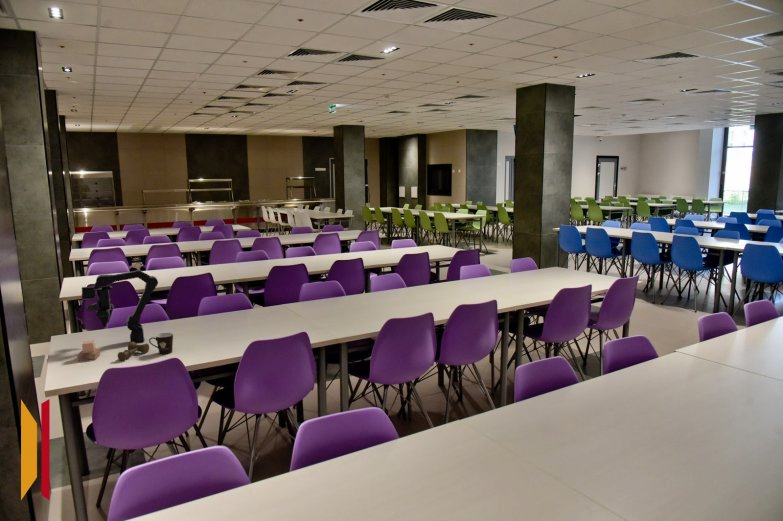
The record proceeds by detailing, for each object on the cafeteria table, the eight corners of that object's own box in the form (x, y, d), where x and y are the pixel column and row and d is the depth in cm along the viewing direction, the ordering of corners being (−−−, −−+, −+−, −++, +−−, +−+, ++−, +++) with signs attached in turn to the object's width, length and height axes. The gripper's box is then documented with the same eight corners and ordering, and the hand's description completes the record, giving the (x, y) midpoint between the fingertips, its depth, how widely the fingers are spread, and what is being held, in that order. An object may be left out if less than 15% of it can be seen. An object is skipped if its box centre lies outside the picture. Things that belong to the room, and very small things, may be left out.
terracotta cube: (95, 349, 278) (94, 340, 277) (93, 352, 273) (93, 343, 272) (84, 350, 276) (83, 341, 275) (82, 353, 271) (82, 344, 271)
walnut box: (100, 355, 280) (99, 348, 279) (95, 360, 272) (94, 353, 271) (83, 357, 278) (82, 349, 277) (78, 362, 270) (77, 354, 270)
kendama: (113, 361, 271) (139, 348, 291) (129, 363, 270) (154, 349, 289) (112, 350, 270) (138, 338, 290) (128, 352, 268) (153, 339, 288)
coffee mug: (178, 351, 286) (176, 333, 284) (166, 356, 277) (165, 337, 276) (160, 348, 289) (159, 331, 288) (148, 353, 281) (147, 335, 280)
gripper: (90, 295, 297) (93, 322, 300) (83, 302, 280) (86, 330, 282) (112, 293, 301) (114, 320, 303) (107, 300, 284) (109, 328, 286)
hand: (106, 324), depth 294 cm, fingers open, 9 cm apart
